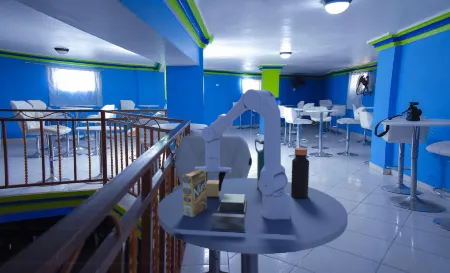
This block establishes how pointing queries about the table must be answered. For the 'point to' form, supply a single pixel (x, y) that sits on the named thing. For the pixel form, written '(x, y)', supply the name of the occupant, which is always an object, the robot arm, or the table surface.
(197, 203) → the candy box
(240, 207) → the grey flat block
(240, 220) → the press bed
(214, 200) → the table surface
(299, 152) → the bottle
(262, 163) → the pitcher
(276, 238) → the table surface
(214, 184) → the tan cube
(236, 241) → the table surface
